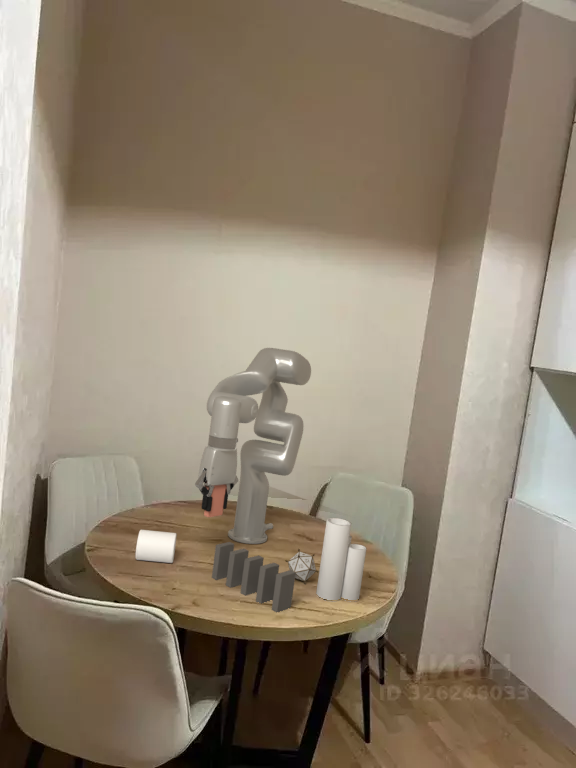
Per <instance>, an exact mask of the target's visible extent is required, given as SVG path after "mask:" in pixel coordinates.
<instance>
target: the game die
mask: <svg viewBox="0 0 576 768" xmlns="http://www.w3.org/2000/svg"><path fill="white" fill-rule="evenodd" d="M297 551H298V552H296V553H295V554H294V555H293V556H292V557H291V558H290V559H288V560H287V559H285V560H284V561H285V563H287V566H288V569H289V570H291V571H293V572H295V573H296V574H295V580H296V579H297V580H299V581H302V582H303V584H304V585H305V584H307V581H308V579H310V578H311V577H312V576H313V575H314V574H315V573H319V570H317V568H316V563H315V560H314V557H315V556H316V555H315V554H316V553H313V554H312V555H311V554H309V553H305V552H302V551H301V550H300V548H297ZM289 570H288V571H289Z"/></svg>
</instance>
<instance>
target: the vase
mask: <svg viewBox="0 0 576 768" xmlns="http://www.w3.org/2000/svg"><path fill="white" fill-rule="evenodd" d="M351 528H352V522H351V521H349V520H347V519H343V518H339V517H328V518H327V519H326V523H325V530H324V537H323V543H322V550H321V557H320V564H319V570H318V571H319V572H318V578H317V579H318V580H317V585H316V593H315V595H316V594H317V595H318V596H319V597H321V598H323V599H327V600H338V599H340V600H341V597H342V598H344V599H348V600H357V599H359V600H360V595H361V587H362V582H363V581H362V580H363V574H364V569H365V562H366V561H365V560H366V553H367V547H366V546H365V545H362V544H358V543H352V537H353V536H352V535H351ZM317 595H316V596H317ZM318 596H317V597H318ZM319 597H318V598H319ZM321 598H320V599H321ZM323 599H322V600H323ZM338 601H339V600H338Z"/></svg>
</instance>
